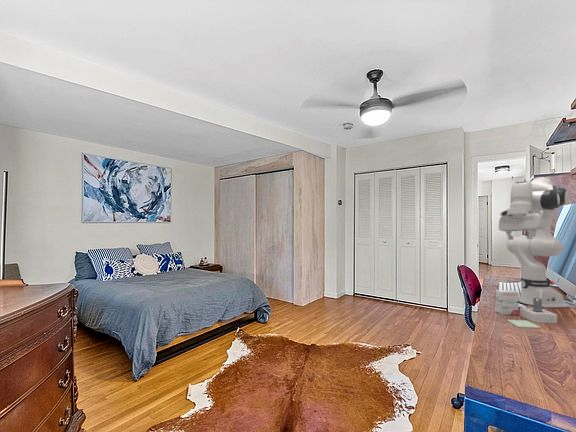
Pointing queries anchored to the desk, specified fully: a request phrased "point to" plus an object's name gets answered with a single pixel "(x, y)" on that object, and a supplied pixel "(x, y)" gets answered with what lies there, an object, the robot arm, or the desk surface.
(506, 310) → the ink box
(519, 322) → the mat
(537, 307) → the plug
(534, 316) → the white square frame block
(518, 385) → the desk surface
